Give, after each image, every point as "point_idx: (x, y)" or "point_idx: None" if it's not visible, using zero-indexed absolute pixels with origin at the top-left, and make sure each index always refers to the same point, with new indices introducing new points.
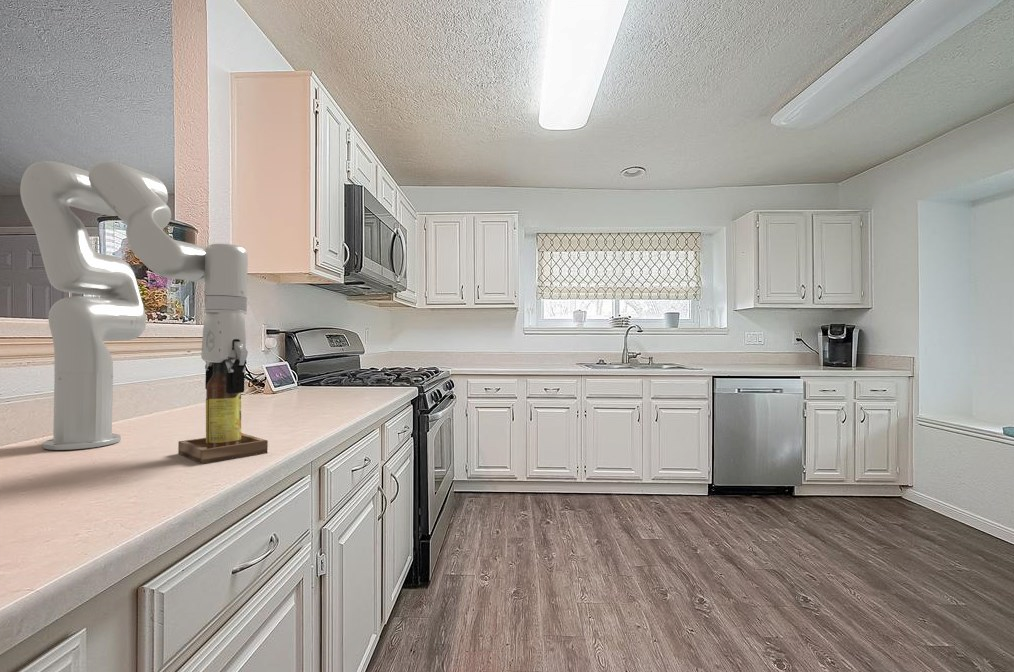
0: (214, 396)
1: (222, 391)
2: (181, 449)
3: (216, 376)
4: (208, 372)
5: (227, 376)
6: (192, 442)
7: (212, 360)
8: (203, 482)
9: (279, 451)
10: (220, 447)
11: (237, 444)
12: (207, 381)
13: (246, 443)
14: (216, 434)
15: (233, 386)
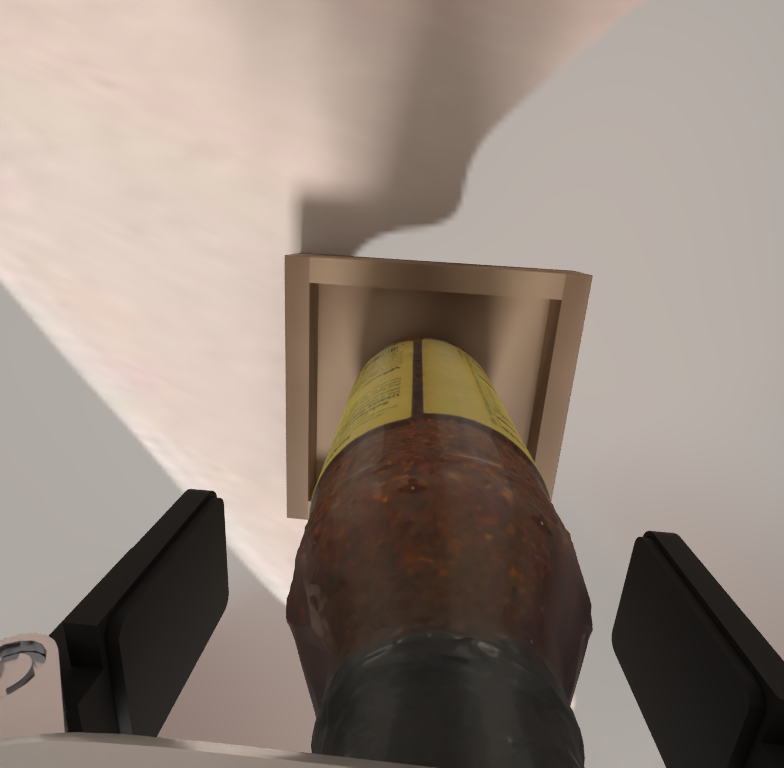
0: (363, 447)
1: (314, 509)
2: (542, 270)
3: (382, 595)
4: (733, 681)
5: (93, 589)
6: (555, 327)
7: (277, 764)
8: (20, 131)
9: (292, 526)
10: (294, 335)
11: (300, 408)
12: (674, 582)
13: (292, 439)
14: (369, 367)
15: (128, 551)
